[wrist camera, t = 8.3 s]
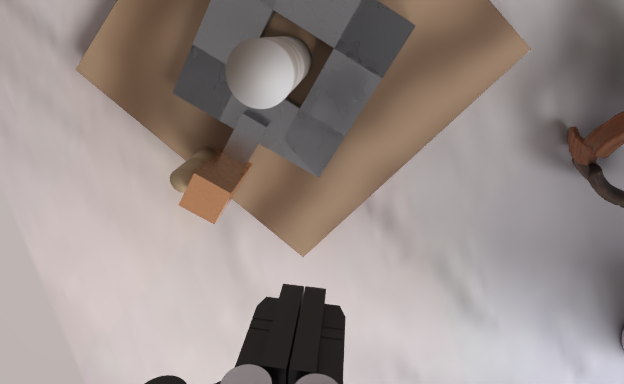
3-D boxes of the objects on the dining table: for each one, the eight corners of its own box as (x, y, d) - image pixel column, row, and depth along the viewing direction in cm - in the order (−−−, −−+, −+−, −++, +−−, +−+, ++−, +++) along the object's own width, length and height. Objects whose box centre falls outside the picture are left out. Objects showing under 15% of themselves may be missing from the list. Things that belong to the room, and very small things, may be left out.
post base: (518, 47, 26) (640, 58, 15) (305, 244, 34) (285, 347, 23) (276, -229, 22) (204, -491, 11) (92, 67, 29) (-61, 88, 18)
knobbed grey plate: (293, 213, 30) (280, 259, 24) (159, 137, 29) (107, 166, 23) (412, 25, 24) (435, 23, 18) (251, -81, 23) (216, -122, 17)
